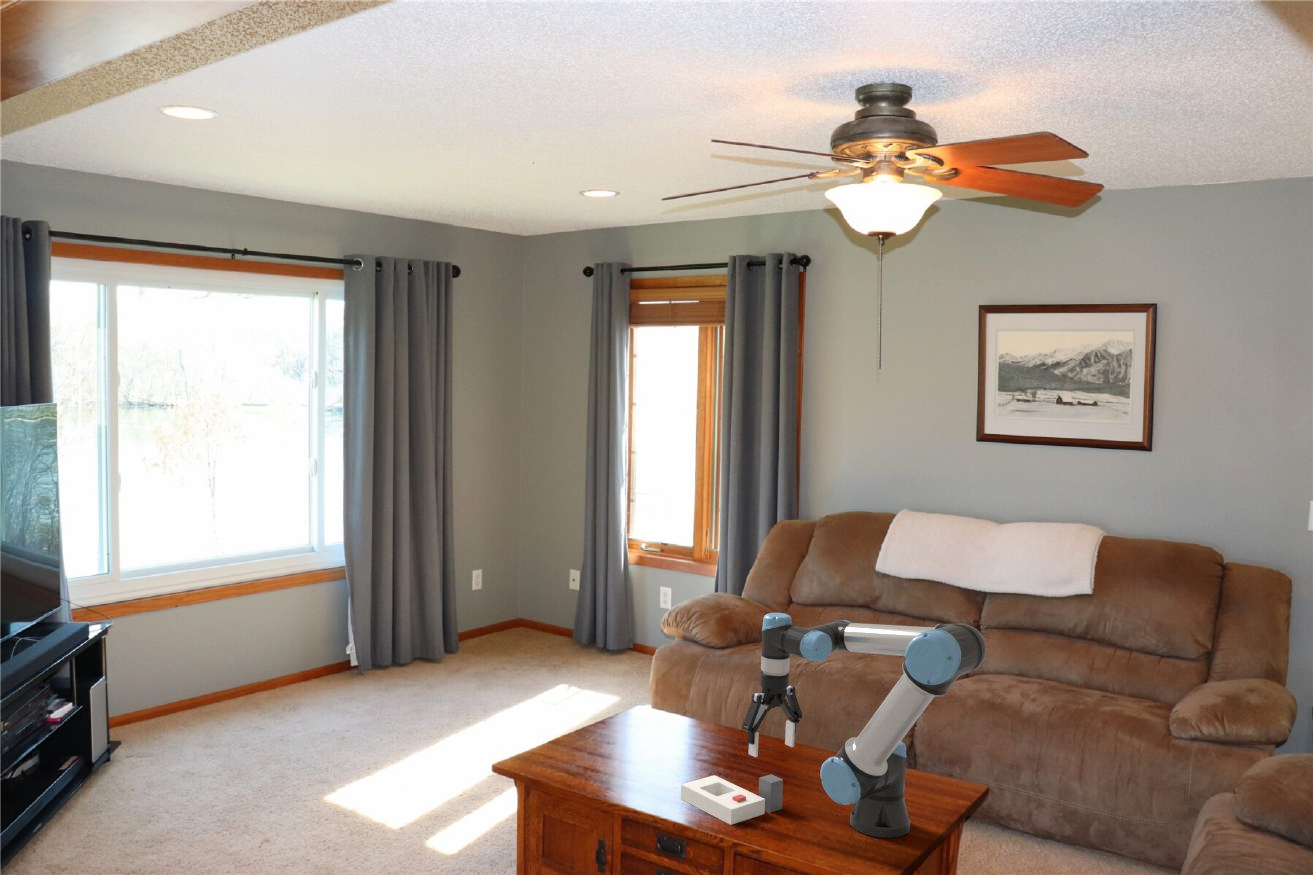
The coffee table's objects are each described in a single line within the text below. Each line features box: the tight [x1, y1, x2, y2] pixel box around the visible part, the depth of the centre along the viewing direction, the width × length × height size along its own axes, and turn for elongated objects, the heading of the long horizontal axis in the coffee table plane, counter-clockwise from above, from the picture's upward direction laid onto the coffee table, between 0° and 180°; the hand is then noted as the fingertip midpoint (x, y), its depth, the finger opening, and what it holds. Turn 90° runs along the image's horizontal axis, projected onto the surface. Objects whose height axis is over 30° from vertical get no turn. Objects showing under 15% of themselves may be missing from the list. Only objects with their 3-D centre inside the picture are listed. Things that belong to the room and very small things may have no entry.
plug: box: [758, 773, 784, 814], centre depth 278 cm, size 4×4×8 cm
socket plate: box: [680, 774, 766, 826], centre depth 278 cm, size 20×12×5 cm, turn 38°
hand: (771, 750), depth 278 cm, fingers open, 13 cm apart
